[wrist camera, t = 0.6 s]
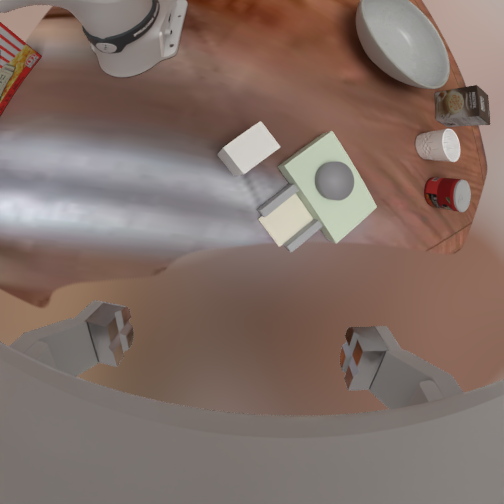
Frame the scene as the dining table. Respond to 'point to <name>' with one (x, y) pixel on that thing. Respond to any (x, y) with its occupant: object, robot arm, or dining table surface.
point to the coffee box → (462, 107)
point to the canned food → (448, 193)
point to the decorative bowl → (402, 42)
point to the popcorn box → (13, 63)
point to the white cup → (438, 145)
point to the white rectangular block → (248, 149)
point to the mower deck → (317, 195)
